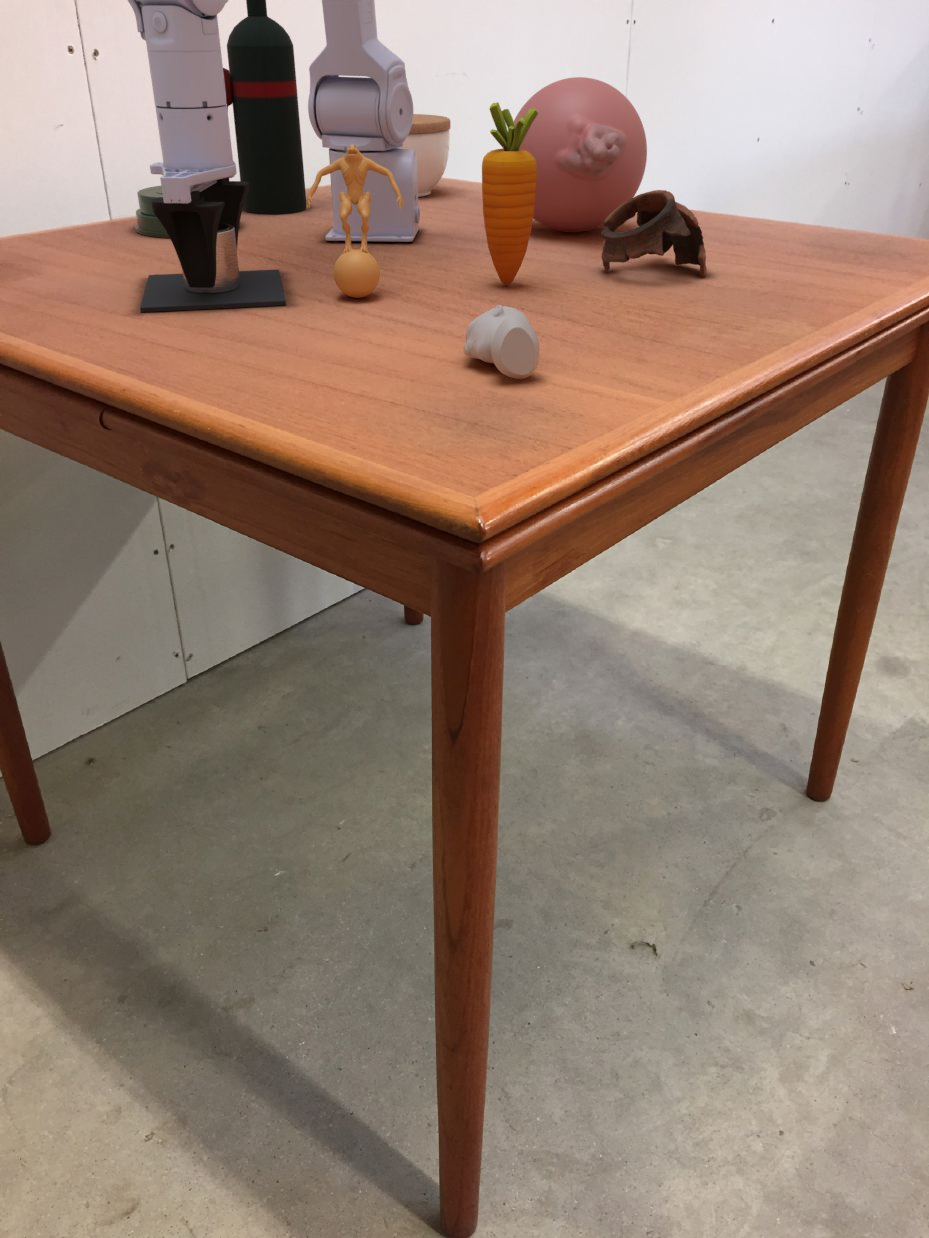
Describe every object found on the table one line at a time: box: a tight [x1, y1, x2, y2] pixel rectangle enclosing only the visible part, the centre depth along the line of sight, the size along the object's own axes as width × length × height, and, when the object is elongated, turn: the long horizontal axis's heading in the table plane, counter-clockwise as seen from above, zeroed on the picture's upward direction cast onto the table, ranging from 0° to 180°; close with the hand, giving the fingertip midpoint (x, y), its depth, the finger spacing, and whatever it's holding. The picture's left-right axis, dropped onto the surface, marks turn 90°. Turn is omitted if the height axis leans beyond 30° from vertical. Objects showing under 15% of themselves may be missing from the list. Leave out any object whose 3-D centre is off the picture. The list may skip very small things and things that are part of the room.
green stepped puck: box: [134, 185, 241, 239], centre depth 114 cm, size 12×12×4 cm
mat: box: [139, 269, 287, 313], centre depth 90 cm, size 12×12×1 cm
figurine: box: [306, 145, 404, 299], centre depth 86 cm, size 8×6×12 cm
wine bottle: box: [223, 0, 307, 215], centre depth 118 cm, size 8×10×30 cm
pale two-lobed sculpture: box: [463, 304, 541, 380], centre depth 71 cm, size 4×8×5 cm
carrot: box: [481, 101, 538, 287], centre depth 88 cm, size 5×5×15 cm
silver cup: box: [181, 223, 241, 294], centre depth 88 cm, size 5×5×5 cm
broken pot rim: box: [600, 189, 707, 278], centre depth 96 cm, size 12×10×8 cm
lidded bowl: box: [398, 113, 451, 198], centre depth 133 cm, size 13×13×11 cm
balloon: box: [513, 76, 648, 233], centre depth 108 cm, size 15×20×15 cm
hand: (212, 277), depth 89 cm, fingers open, 6 cm apart
